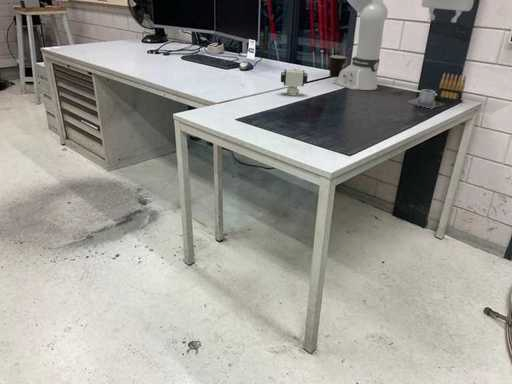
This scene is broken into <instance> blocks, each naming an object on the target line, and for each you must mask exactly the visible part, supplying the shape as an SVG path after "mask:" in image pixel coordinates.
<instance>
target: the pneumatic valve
mask: <svg viewBox="0 0 512 384" xmlns="http://www.w3.org/2000/svg"><path fill="white" fill-rule="evenodd" d="M283 70H284V71H282V72H281V73H280V83H283V86H285V87H286V86H288V88H286V94H287V95H288V96H290V97H291V96H293V97H296V96H297V95H299V94H300V93H299V92H300V90H299V88H298V87H304V85H305V84H307V83H308V73H306V72H305V70H304V69H297V68H295V67H293V69H286V68H285V69H283Z"/></svg>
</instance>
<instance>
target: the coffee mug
mask: <svg viewBox="0 0 512 384" xmlns="http://www.w3.org/2000/svg"><path fill="white" fill-rule="evenodd" d="M346 59H347V57H346V56H344V55H339V54H338V55H335V54H334V55H330V56H329V76H330V77H333V78H338V77H339V74H340V72H341V70H343V69H344V67H345V62H346Z"/></svg>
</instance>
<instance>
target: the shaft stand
mask: <svg viewBox="0 0 512 384" xmlns="http://www.w3.org/2000/svg"><path fill="white" fill-rule="evenodd" d="M418 100H419V97H416V98H413V99H410V100H406V102H405V103H406V104H408V103H409V105H412V104H413V105H412V106H415V105H417V107H419V106H422V107H421V108H423V107H426V108H425V109H427V108H430V109H429V110H431V109H432V110H434V109H433V108H435V107H438V106H440V107H442V106H441V105H443V106H445V105H444V104H446V103H445V102H441V101H436V100H434V102H433V104H423V103H420V102H419V101H418ZM438 108H439V107H438ZM435 109H436V108H435Z"/></svg>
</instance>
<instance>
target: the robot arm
mask: <svg viewBox="0 0 512 384" xmlns="http://www.w3.org/2000/svg"><path fill="white" fill-rule="evenodd" d="M346 1H347V2H348V3H349V5H350V6H351V7H352V8H353V9H354V10H355V12H357V14H358V15H359V16H360V17H359V25H358V26H359V27H358V41H357V48H356V54H355V56H354V57H350V61H352V62H351V64H349V65H348V66H345V68H344V67H343V70H341V72H340V74H339V77H337V78H336V79H334V80H333V82H332V83H334V84H335V85H338V86H341V87H344V88H347V89H350V90H362V91H365V90H366V91H373V90H376V89H377V90H378V83H377V82H378V70H379V65H380V55H381V49H382V42H383V34H384V24H385V21H386V19H387V17H388V14H389V13H388V8H387V6H386V4H385V3H384V2H383V0H346ZM474 1H475V0H422V1H421V6H422V8H426V9H427V8H428V14H429V18H428V19H429V20H430V21H435V19H436V15H435V14H434V11H435V9H439V10H449V11H450V10H451V11H455V16H454V17H451V20H450V23H455V24H456V23H457V21H458V18H459V17H460V15H461V14H462V13H463V12H470V11H471V10H472V9H473V6H474Z"/></svg>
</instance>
